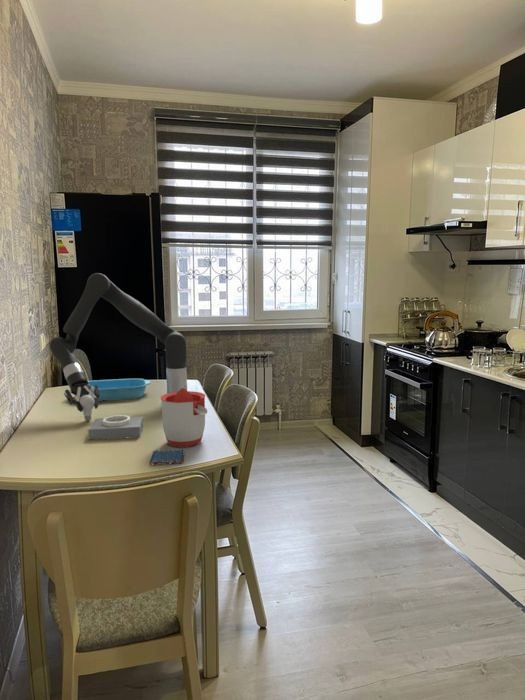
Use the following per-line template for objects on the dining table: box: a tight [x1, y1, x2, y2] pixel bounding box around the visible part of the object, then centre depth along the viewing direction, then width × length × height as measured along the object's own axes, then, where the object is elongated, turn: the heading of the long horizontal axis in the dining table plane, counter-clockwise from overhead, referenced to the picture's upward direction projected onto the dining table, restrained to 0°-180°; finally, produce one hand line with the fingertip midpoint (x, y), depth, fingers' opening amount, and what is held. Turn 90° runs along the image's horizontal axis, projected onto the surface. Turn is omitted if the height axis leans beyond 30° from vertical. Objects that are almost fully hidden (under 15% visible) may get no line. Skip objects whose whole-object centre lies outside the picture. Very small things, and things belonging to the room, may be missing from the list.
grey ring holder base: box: [88, 414, 144, 440], centre depth 187 cm, size 18×14×6 cm
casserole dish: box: [87, 378, 151, 402], centre depth 244 cm, size 37×22×7 cm, turn 107°
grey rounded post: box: [79, 395, 95, 422], centre depth 202 cm, size 6×6×11 cm
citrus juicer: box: [160, 388, 208, 448], centre depth 174 cm, size 16×17×20 cm
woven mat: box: [149, 449, 185, 466], centre depth 160 cm, size 10×11×2 cm
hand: (89, 408), depth 201 cm, fingers closed on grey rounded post, 6 cm apart
